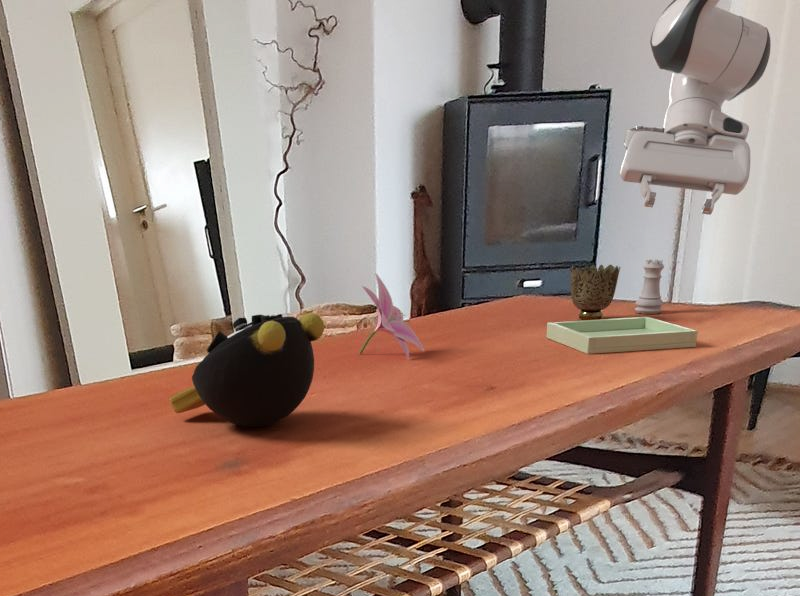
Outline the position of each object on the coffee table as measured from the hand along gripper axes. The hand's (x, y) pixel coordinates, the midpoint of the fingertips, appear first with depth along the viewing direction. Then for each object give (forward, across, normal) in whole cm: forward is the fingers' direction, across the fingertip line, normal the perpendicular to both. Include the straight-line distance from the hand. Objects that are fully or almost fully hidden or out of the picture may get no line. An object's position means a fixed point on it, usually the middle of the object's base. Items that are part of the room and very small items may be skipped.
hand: (677, 208), depth 159 cm
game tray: (+35, -9, -22) cm, 42 cm away
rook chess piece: (+18, -2, +1) cm, 18 cm away
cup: (+24, -11, -5) cm, 27 cm away
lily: (+45, -39, -28) cm, 66 cm away
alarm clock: (+68, -49, -59) cm, 102 cm away
